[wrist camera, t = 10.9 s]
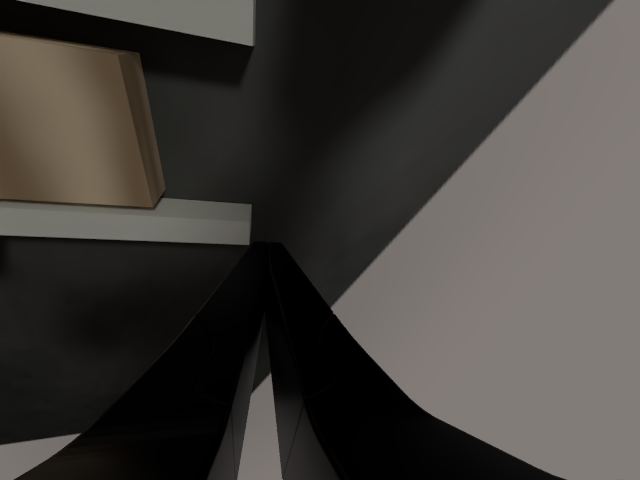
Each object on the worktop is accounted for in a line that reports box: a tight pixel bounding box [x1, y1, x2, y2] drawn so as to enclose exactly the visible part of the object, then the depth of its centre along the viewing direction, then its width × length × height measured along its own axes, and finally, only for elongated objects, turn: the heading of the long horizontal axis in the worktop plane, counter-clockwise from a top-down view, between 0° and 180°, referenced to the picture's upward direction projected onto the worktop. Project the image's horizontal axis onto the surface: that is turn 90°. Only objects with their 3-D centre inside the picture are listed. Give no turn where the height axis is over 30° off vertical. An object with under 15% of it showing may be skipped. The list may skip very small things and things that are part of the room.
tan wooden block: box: [0, 30, 165, 207], centre depth 14 cm, size 13×8×3 cm, turn 81°
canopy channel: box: [0, 0, 256, 245], centre depth 13 cm, size 20×14×6 cm
